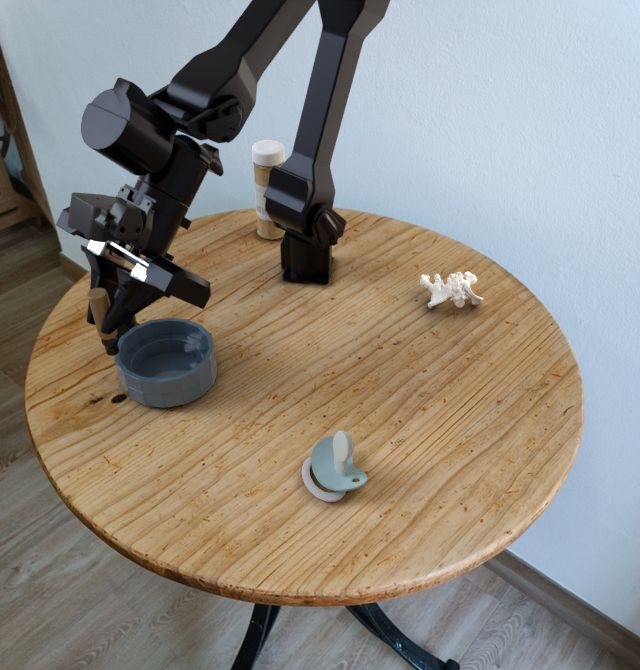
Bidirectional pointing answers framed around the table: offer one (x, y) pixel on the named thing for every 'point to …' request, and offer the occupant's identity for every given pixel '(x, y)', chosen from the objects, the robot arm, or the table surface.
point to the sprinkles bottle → (266, 183)
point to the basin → (166, 362)
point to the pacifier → (333, 467)
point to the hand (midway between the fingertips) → (97, 328)
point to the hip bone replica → (451, 289)
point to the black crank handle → (99, 310)
